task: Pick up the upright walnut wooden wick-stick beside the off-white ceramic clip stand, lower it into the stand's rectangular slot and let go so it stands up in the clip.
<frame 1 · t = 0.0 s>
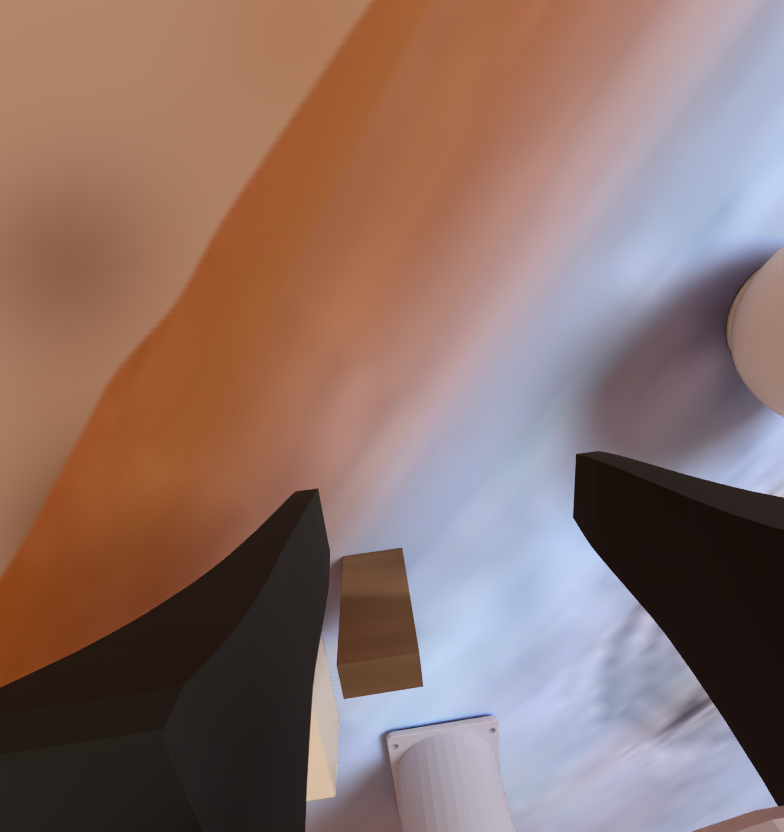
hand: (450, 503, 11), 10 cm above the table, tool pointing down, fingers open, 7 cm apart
lidded jar: (778, 314, 21), on the table
clip stand: (250, 675, 25), on the table
wood wick: (374, 565, 23), on the table
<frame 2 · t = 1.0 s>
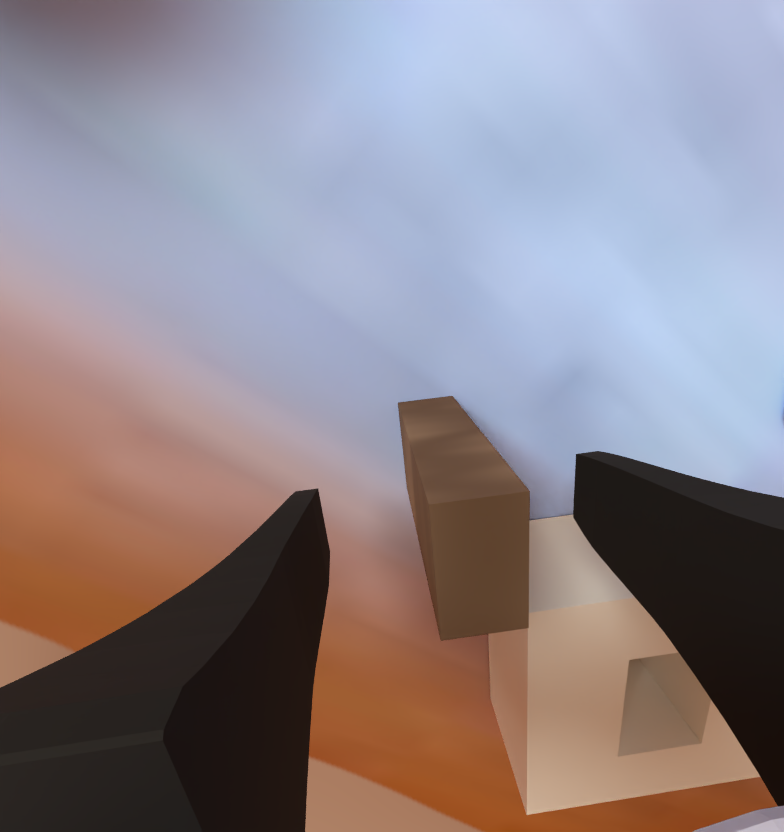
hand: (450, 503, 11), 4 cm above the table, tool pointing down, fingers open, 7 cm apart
clip stand: (595, 604, 18), on the table
wood wick: (428, 443, 15), on the table
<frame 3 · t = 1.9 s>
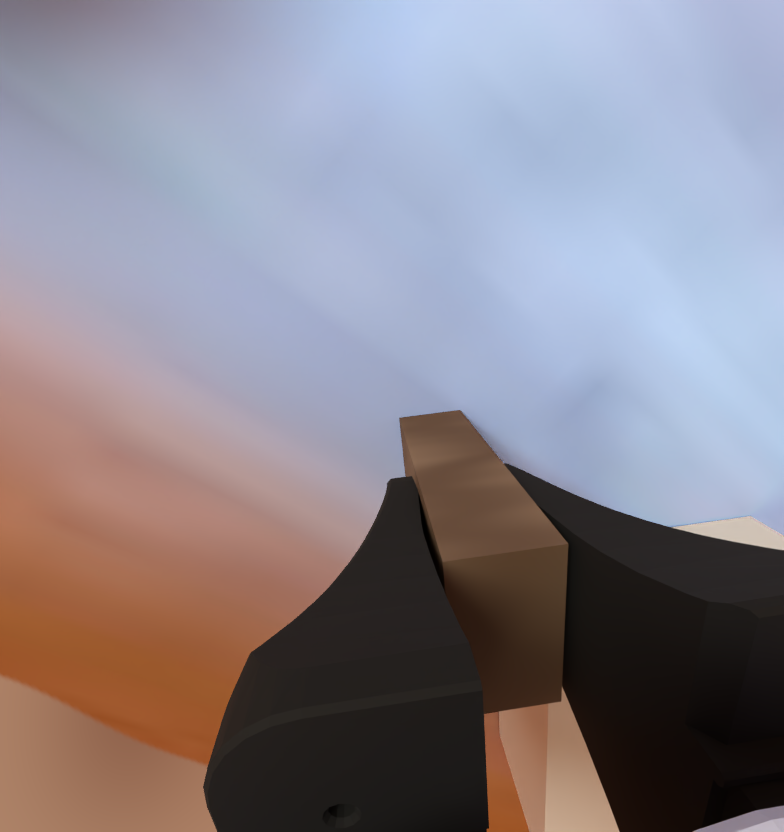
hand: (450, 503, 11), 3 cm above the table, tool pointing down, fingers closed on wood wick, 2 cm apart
clip stand: (614, 634, 16), on the table
wood wick: (433, 462, 13), on the table, touching gripper
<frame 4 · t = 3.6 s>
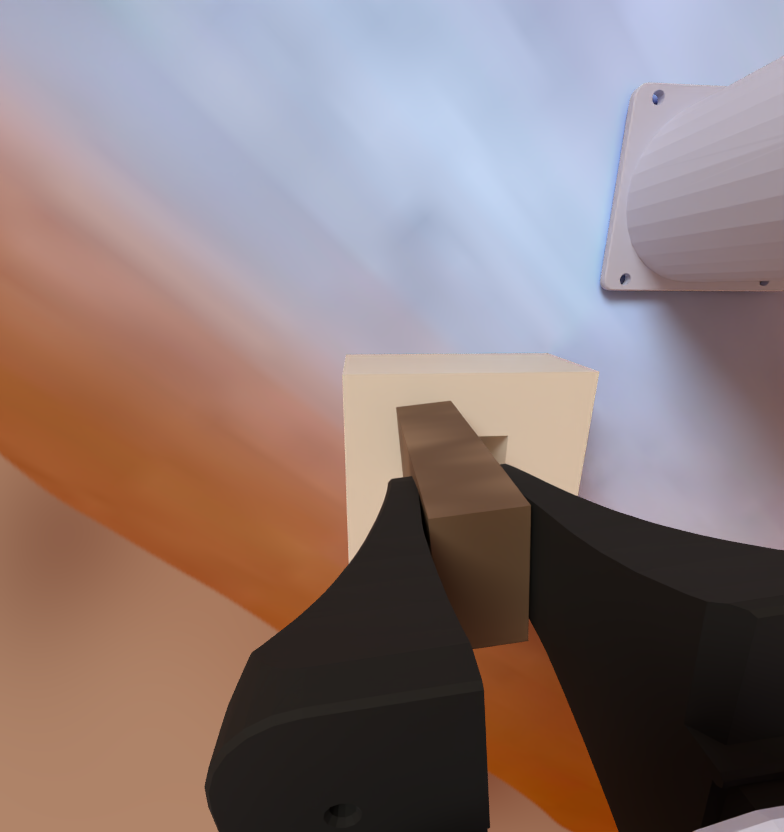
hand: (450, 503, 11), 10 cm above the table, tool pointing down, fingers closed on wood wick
clip stand: (443, 447, 21), on the table
wood wick: (426, 448, 15), point 6 cm above the table, touching gripper
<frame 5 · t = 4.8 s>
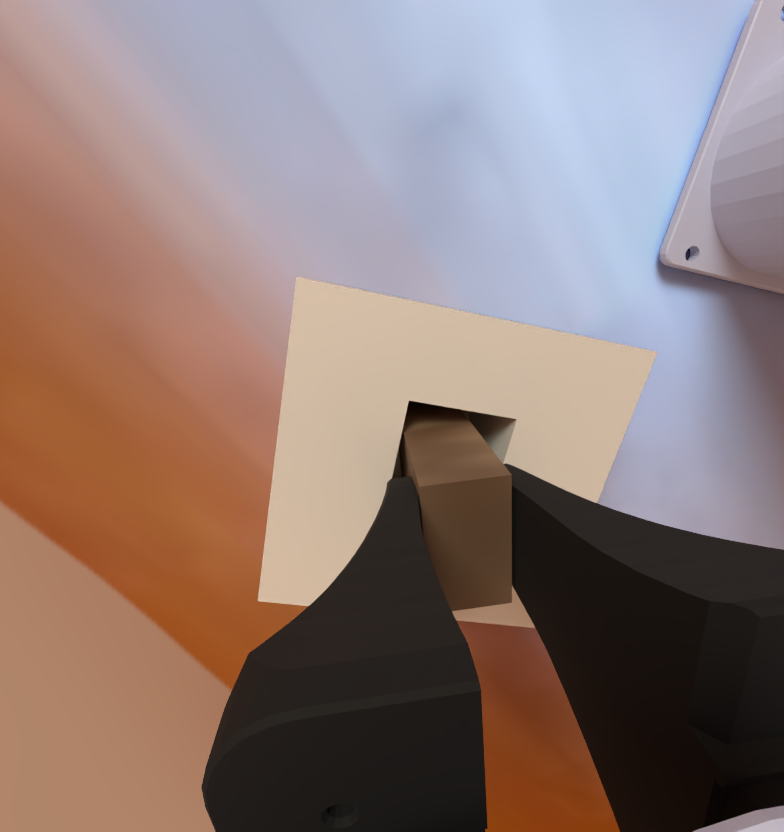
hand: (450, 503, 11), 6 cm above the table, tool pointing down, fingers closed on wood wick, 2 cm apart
clip stand: (421, 432, 16), on the table
wood wick: (422, 435, 16), point 1 cm above the table, touching clip stand, gripper
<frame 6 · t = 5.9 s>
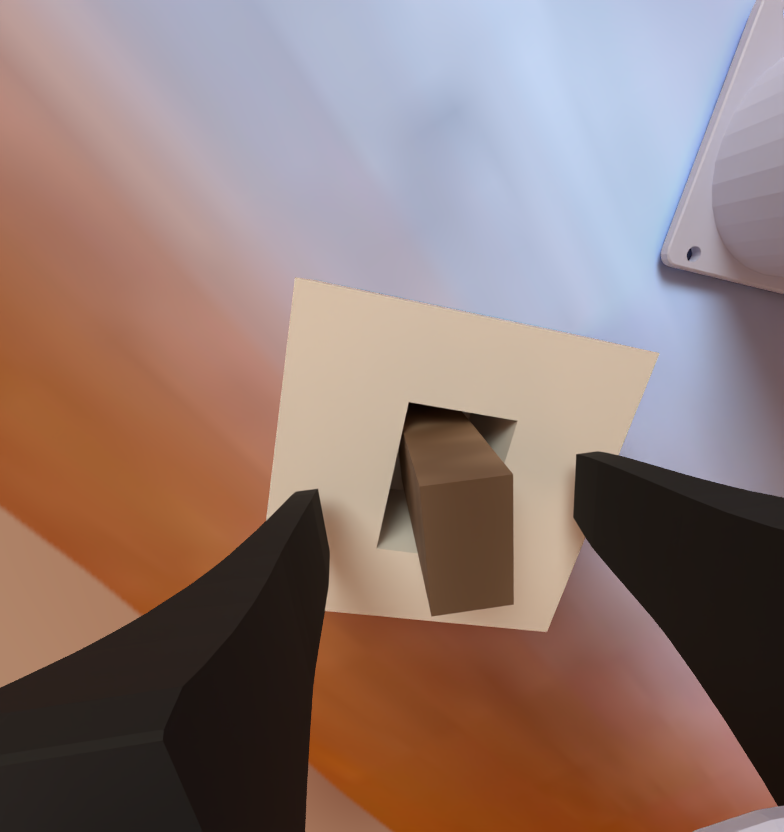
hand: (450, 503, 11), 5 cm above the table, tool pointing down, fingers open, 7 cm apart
clip stand: (421, 433, 16), on the table
wood wick: (422, 436, 15), resting on clip stand
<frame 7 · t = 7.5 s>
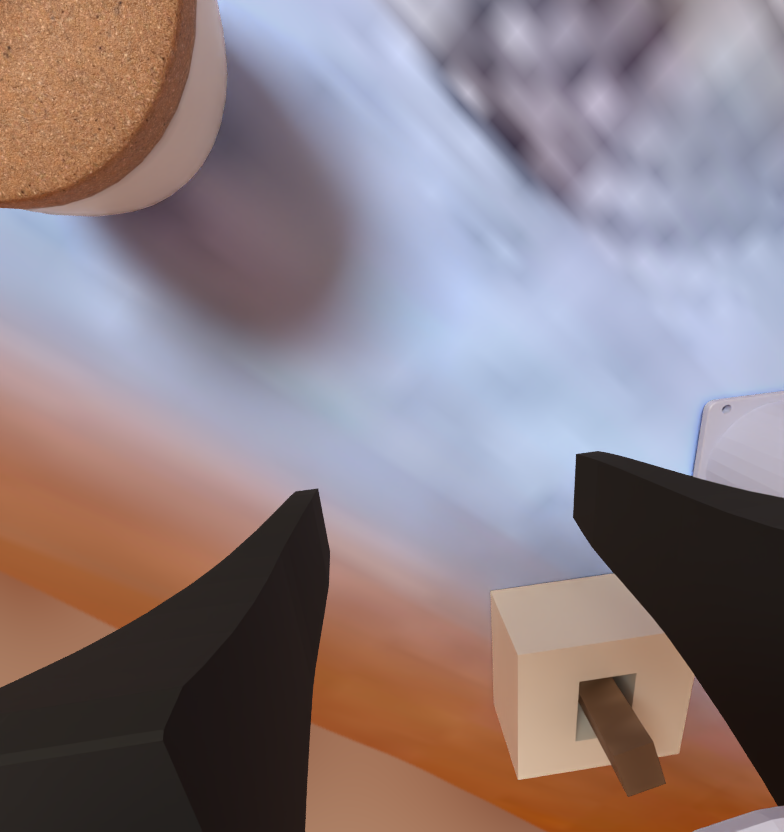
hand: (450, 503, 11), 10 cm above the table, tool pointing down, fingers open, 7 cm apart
lidded jar: (125, 91, 16), on the table
clip stand: (565, 640, 26), on the table
wood wick: (568, 645, 26), resting on clip stand
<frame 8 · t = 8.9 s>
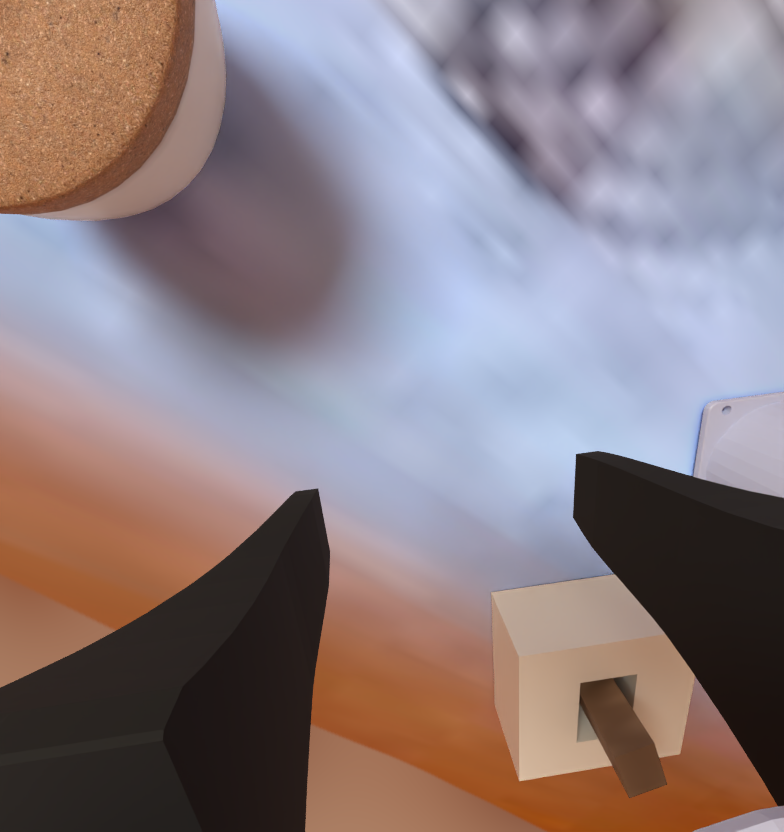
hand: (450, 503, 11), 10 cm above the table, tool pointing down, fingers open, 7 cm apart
lidded jar: (124, 95, 16), on the table
clip stand: (566, 640, 26), on the table
wood wick: (569, 646, 26), resting on clip stand
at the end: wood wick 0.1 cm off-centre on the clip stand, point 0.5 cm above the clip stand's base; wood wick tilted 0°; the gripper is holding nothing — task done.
